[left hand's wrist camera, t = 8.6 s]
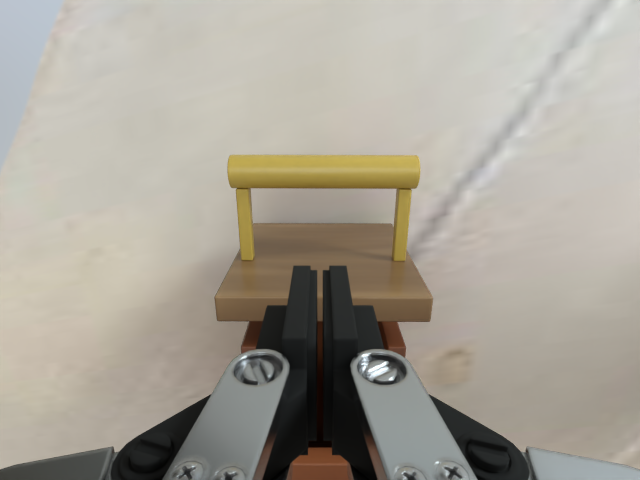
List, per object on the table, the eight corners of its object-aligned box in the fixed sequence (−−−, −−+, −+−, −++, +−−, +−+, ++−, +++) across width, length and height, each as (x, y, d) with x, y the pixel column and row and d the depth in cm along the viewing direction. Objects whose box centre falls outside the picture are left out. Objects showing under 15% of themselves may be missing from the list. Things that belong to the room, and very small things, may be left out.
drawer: (248, 141, 23) (200, 170, 14) (398, 141, 23) (449, 171, 14) (266, 437, 31) (243, 578, 22) (376, 438, 31) (399, 579, 22)
